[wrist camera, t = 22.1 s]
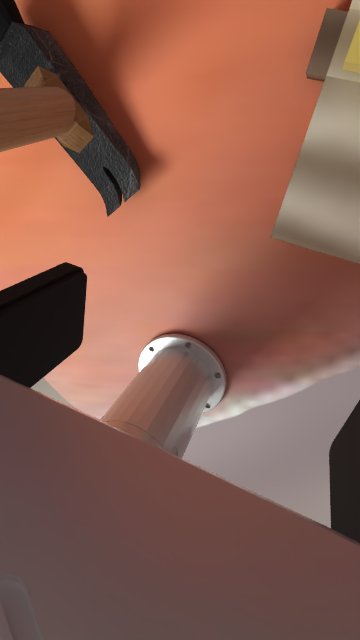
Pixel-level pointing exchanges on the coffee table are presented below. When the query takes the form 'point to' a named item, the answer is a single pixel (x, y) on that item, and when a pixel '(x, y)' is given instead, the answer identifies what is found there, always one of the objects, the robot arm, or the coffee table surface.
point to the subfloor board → (328, 151)
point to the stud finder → (353, 53)
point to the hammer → (59, 109)
